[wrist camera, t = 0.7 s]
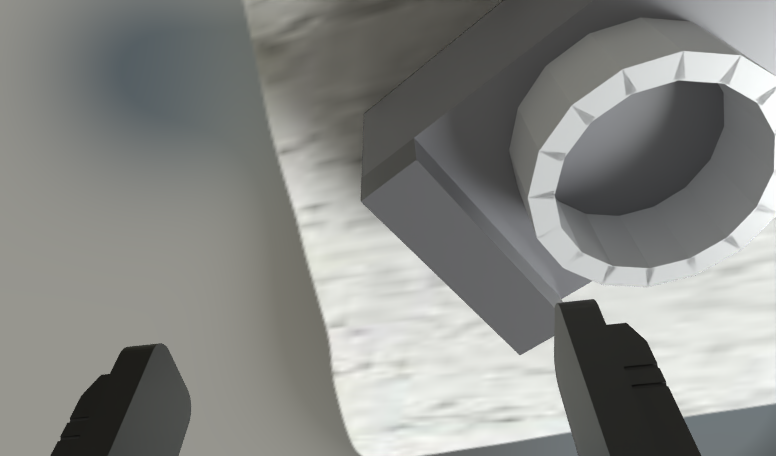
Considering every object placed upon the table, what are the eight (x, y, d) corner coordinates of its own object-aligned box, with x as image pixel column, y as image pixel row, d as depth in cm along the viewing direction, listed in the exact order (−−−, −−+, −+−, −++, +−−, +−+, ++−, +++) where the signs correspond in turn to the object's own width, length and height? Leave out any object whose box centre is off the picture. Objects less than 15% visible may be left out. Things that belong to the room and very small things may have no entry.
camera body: (715, -172, 27) (893, -162, 17) (813, 41, 32) (990, 134, 23) (364, 113, 34) (359, 228, 24) (491, 250, 39) (528, 385, 30)
